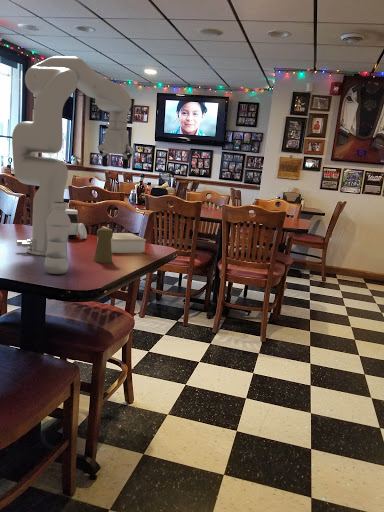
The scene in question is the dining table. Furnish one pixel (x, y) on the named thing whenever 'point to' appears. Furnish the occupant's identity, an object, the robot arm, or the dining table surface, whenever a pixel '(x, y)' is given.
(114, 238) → the lid
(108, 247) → the olive pepper mill
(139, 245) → the mailer box
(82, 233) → the spread jar
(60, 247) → the plastic bottle
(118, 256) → the dining table surface
